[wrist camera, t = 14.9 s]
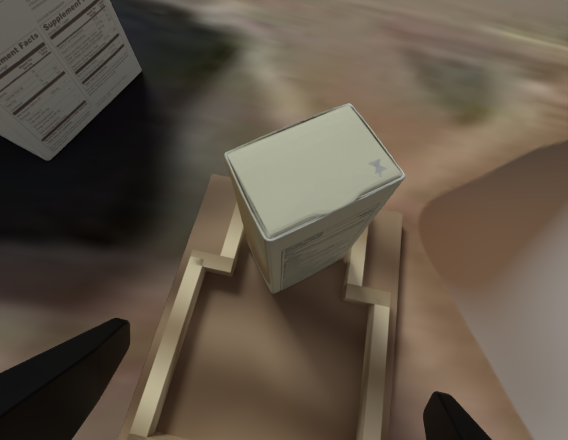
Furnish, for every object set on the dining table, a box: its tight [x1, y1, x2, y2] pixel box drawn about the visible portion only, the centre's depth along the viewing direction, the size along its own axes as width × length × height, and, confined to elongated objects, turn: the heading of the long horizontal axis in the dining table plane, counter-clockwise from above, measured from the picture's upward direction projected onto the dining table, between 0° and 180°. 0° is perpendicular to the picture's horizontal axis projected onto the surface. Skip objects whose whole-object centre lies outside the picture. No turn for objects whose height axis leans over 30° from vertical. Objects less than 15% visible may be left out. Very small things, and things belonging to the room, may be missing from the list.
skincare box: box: [224, 103, 405, 294], centre depth 18 cm, size 6×4×12 cm
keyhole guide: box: [118, 174, 403, 440], centre depth 21 cm, size 19×16×3 cm
